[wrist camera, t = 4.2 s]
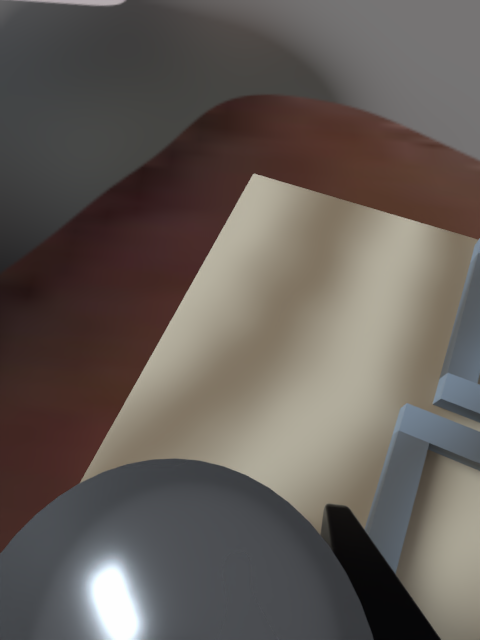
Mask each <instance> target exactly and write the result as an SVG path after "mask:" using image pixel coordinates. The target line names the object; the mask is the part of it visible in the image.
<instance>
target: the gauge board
mask: <svg viewBox="0 0 480 640" xmlns="http://www.w3.org/2000/svg"><path fill="white" fill-rule="evenodd" d="M173 458H177V459H188V460H199V461H204V462H208V463H212V464H216V465H220V466H224V467H227V468H229V469H232V470H234V471H237V472H240V473H242V474H245V475H247V476H249V477H251V478H252V479H254V480H256V481H258V482H260V483H261V484H263V485H265V486H267V487H269V488H270V489H271V490H273V491H274V492H275V493H277V494H278V495H279V496H281V497H282V498H283V499H285V500H286V501H288V502H289V503H290V504H291V505H292V506H293V507H294V508H295V509H296V510H297V511H299V512H300V513H301V514H302V515H303V516H304V517H305V518H306V519H307V520H308V521H309V522H310V523H311V524H312V526H313V527H314V528H315V529H316V530H317V532H318V533H319V534H321V527H322V519H323V512H324V507H325V505H326V504H338V505H345V506H347V507H349V508H350V510H351V511H352V512H353V514H354V515H355V517H356V518H357V520H358V521H359V522H360V524H361V525H362V527H363V528H364V530H365V531H366V533H367V534H368V535H369V537H370V538H371V540H372V541H373V543H374V544H375V545H376V547H377V548H378V550H379V551H380V553H381V554H382V555H383V557H384V558H385V560H386V561H387V563H388V564H389V565H390V567H391V568H392V570H393V571H394V573H395V574H396V576H397V577H398V578H399V580H400V581H401V583H402V584H403V586H404V587H405V588H406V590H407V591H408V593H409V594H410V596H411V597H412V598H413V600H414V601H415V603H416V604H417V606H418V607H419V608H420V610H421V611H422V613H423V614H424V616H425V617H426V618H427V620H428V621H429V623H430V624H431V626H432V627H433V629H434V630H435V631H436V633H437V634H438V636H439V637H440V639H441V640H480V239H479V240H477V239H474V238H470V237H467V236H463V235H460V234H457V233H453V232H450V231H446V230H443V229H440V228H436V227H433V226H430V225H426V224H423V223H419V222H416V221H413V220H409V219H406V218H402V217H399V216H396V215H392V214H389V213H385V212H382V211H379V210H375V209H372V208H369V207H365V206H362V205H358V204H355V203H352V202H348V201H345V200H341V199H338V198H335V197H331V196H328V195H324V194H321V193H318V192H314V191H311V190H308V189H304V188H301V187H297V186H294V185H291V184H287V183H284V182H280V181H277V180H274V179H270V178H267V177H263V176H260V175H257V174H253V176H252V177H251V179H250V181H249V183H248V185H247V186H246V188H245V190H244V192H243V193H242V195H241V197H240V199H239V201H238V202H237V204H236V206H235V208H234V209H233V211H232V213H231V215H230V217H229V218H228V220H227V222H226V224H225V226H224V227H223V229H222V231H221V233H220V234H219V236H218V238H217V240H216V242H215V243H214V245H213V247H212V249H211V250H210V252H209V254H208V256H207V258H206V259H205V261H204V263H203V265H202V266H201V268H200V270H199V272H198V274H197V275H196V277H195V279H194V281H193V283H192V284H191V286H190V288H189V290H188V291H187V293H186V295H185V297H184V299H183V300H182V302H181V304H180V306H179V307H178V309H177V311H176V313H175V315H174V316H173V318H172V320H171V322H170V323H169V325H168V327H167V329H166V331H165V332H164V334H163V336H162V338H161V340H160V341H159V343H158V345H157V347H156V348H155V350H154V352H153V354H152V356H151V357H150V359H149V361H148V363H147V364H146V366H145V368H144V370H143V372H142V373H141V375H140V377H139V379H138V380H137V382H136V384H135V386H134V388H133V389H132V391H131V393H130V395H129V397H128V398H127V400H126V402H125V404H124V405H123V407H122V409H121V411H120V413H119V414H118V416H117V418H116V420H115V421H114V423H113V425H112V427H111V429H110V430H109V432H108V434H107V436H106V437H105V439H104V441H103V443H102V445H101V446H100V448H99V450H98V452H97V454H96V455H95V457H94V459H93V461H92V462H91V464H90V466H89V468H88V470H87V471H86V473H85V475H84V477H83V478H82V480H81V482H83V481H85V480H87V479H90V478H92V477H94V476H96V475H98V474H100V473H102V472H105V471H108V470H111V469H114V468H117V467H120V466H123V465H126V464H130V463H136V462H141V461H146V460H152V459H173ZM81 482H80V483H81Z"/></svg>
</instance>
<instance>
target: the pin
mask: <svg viewBox="0 0 480 640" xmlns="http://www.w3.org/2000/svg"><path fill="white" fill-rule="evenodd" d="M0 640H374V639H373V635H372V632H371V630H370V627H369V624H368V621H367V619H366V616H365V613H364V610H363V608H362V605H361V602H360V600H359V598H358V596H357V594H356V592H355V590H354V588H353V586H352V584H351V582H350V580H349V578H348V576H347V574H346V572H345V570H344V569H343V567H342V565H341V564H340V562H339V561H338V559H337V558H336V556H335V554H334V553H333V551H332V550H331V548H330V547H329V545H328V544H327V543H326V541H325V540H324V539H323V538H322V537H321V535H320V534H319V533H318V532H317V530H316V529H315V528H314V527H313V526H312V524H311V523H310V522H309V521H308V520H307V519H306V518H305V517H304V516H303V515H302V514H301V513H300V512H299V511H297V510H296V509H295V508H294V507H293V506H292V505H291V504H290V503H289V502H288V501H286V500H285V499H283V498H282V497H281V496H279V495H278V494H277V493H275V492H274V491H273V490H271V489H270V488H269V487H267V486H265V485H263V484H261V483H260V482H258V481H256V480H254V479H252V478H251V477H249V476H247V475H245V474H242V473H240V472H237V471H234V470H232V469H229V468H227V467H224V466H220V465H216V464H212V463H208V462H204V461H199V460H188V459H177V458H173V459H152V460H146V461H141V462H136V463H130V464H126V465H123V466H120V467H117V468H114V469H111V470H108V471H105V472H102V473H100V474H98V475H96V476H94V477H92V478H90V479H87V480H85V481H83V482H81V483H79V484H78V485H76V486H75V487H73V488H72V489H70V490H68V491H67V492H65V493H64V494H62V495H60V496H59V497H57V498H56V499H55V500H54V501H52V502H51V503H50V504H49V505H47V506H46V507H45V508H44V509H42V510H41V511H40V512H39V513H37V514H36V515H35V516H34V517H33V518H32V519H31V520H30V521H29V522H28V523H27V524H26V525H25V526H24V527H23V528H22V529H21V530H20V531H19V532H18V533H17V534H16V535H15V536H14V538H13V539H12V540H11V541H10V543H9V544H8V545H7V546H6V548H5V549H4V550H3V551H2V552H1V554H0Z"/></svg>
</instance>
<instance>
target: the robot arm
mask: <svg viewBox="0 0 480 640" xmlns="http://www.w3.org/2000/svg"><path fill="white" fill-rule="evenodd" d="M320 535H321V537H322V538H323V539H324V540H325V541H326V543H327V544H328V545H329V547H330V548H331V550H332V551H333V553H334V554H335V556H336V558H337V559H338V561H339V562H340V564H341V565H342V567H343V569H344V570H345V572H346V574H347V576H348V578H349V580H350V582H351V584H352V586H353V588H354V590H355V592H356V594H357V596H358V598H359V600H360V602H361V605H362V608H363V610H364V613H365V616H366V619H367V621H368V624H369V627H370V630H371V632H372V635H373V639H374V640H441V639H440V637H439V636H438V634H437V633H436V631H435V630H434V629H433V627H432V626H431V624H430V623H429V621H428V620H427V618H426V617H425V616H424V614H423V613H422V611H421V610H420V608H419V607H418V606H417V604H416V603H415V601H414V600H413V598H412V597H411V596H410V594H409V593H408V591H407V590H406V588H405V587H404V586H403V584H402V583H401V581H400V580H399V578H398V577H397V576H396V574H395V573H394V571H393V570H392V568H391V567H390V565H389V564H388V563H387V561H386V560H385V558H384V557H383V555H382V554H381V553H380V551H379V550H378V548H377V547H376V545H375V544H374V543H373V541H372V540H371V538H370V537H369V535H368V534H367V533H366V531H365V530H364V528H363V527H362V525H361V524H360V522H359V521H358V520H357V518H356V517H355V515H354V514H353V512H352V511H351V510H350V508H349V507H347V506H345V505H338V504H326V505H325V507H324V512H323V519H322V527H321V534H320Z"/></svg>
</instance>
